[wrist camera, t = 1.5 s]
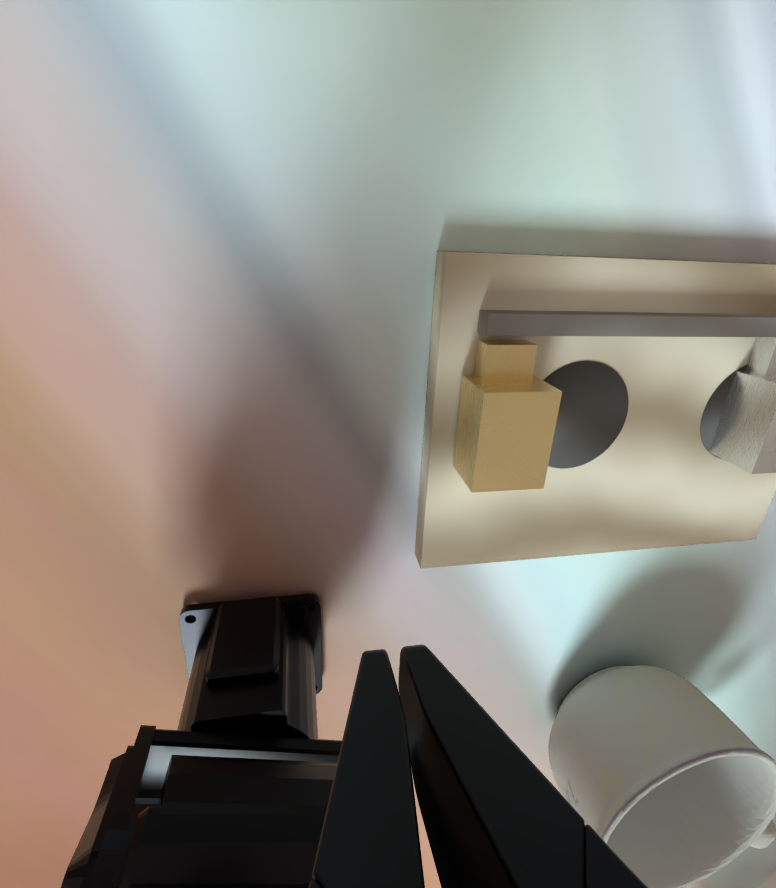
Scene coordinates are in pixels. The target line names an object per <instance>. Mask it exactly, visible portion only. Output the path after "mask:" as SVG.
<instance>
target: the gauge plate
mask: <svg viewBox="0 0 776 888" xmlns="http://www.w3.org/2000/svg"><path fill="white" fill-rule="evenodd" d="M756 337H776V264H757V263H731V262H706V261H680V260H655V259H629V258H603V257H578V256H552V255H527V254H501V253H476V252H450V251H437V261H436V274H435V288H434V301H433V315H432V328H431V342H430V355H429V369H428V382H427V396H426V409H425V423H424V437H423V450H422V464H421V477H420V491H419V504H418V518H417V531H416V545H415V555H416V558H417V560H418V563H419V565H420V568H432V567H444V566H455V565H467V564H478V563H489V562H501V561H512V560H524V559H535V558H547V557H558V556H569V555H581V554H592V553H604V552H615V551H626V550H638V549H649V548H661V547H672V546H684V545H695V544H706V543H718V542H729V541H741V540H752V539H756V537H757V535H758V532H759V530H760V527H761V525H762V522H763V520H764V518H765V515H766V513H767V510H768V508H769V505H770V503H771V501H772V498H773V496H774V493H775V491H776V473H761V474H750V473H749V472H747V471H745V470H743V469H741V468H739V467H737V466H735V465H733V464H731V463H729V462H727V461H725V460H723V459H721V458H719V457H717V456H716V455H714V454H712V453H710V452H709V451H710V448H711V445H712V442H713V439H714V436H715V433H716V430H717V427H718V424H719V421H720V418H721V415H722V412H723V409H724V406H725V403H726V400H727V397H728V394H729V391H730V388H731V385H732V382H733V379H734V376H735V373H736V371H746V368H747V366H748V365H747V363H748V360H749V357H750V354H751V351H752V348H753V345H754V342H755V339H756ZM478 340H527V341H530V342H532V343H534V344H537V345H538V347H537V353H536V359H535V365H534V371H533V375H534V376H536V377H538V378H539V379H541V380H543V381H545V382H546V383H548V384H550V385H552V386H553V387H555V388H557V389H559V390H560V391H562V395H561V401H560V406H559V411H558V416H557V422H556V427H555V432H554V437H553V442H552V448H551V453H550V458H549V463H548V469H547V474H546V479H545V484H544V489H527V490H510V491H493V492H476V493H472V492H471V491H470V489H469V488H468V487H467V485H466V484H465V482H464V481H463V479H462V478H461V477H460V475H459V474H458V472H457V471H456V469H455V468H454V467H453V459H454V449H455V439H456V430H457V420H458V410H459V401H460V391H461V381H462V375H474V371H475V362H476V353H477V345H478Z"/></svg>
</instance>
